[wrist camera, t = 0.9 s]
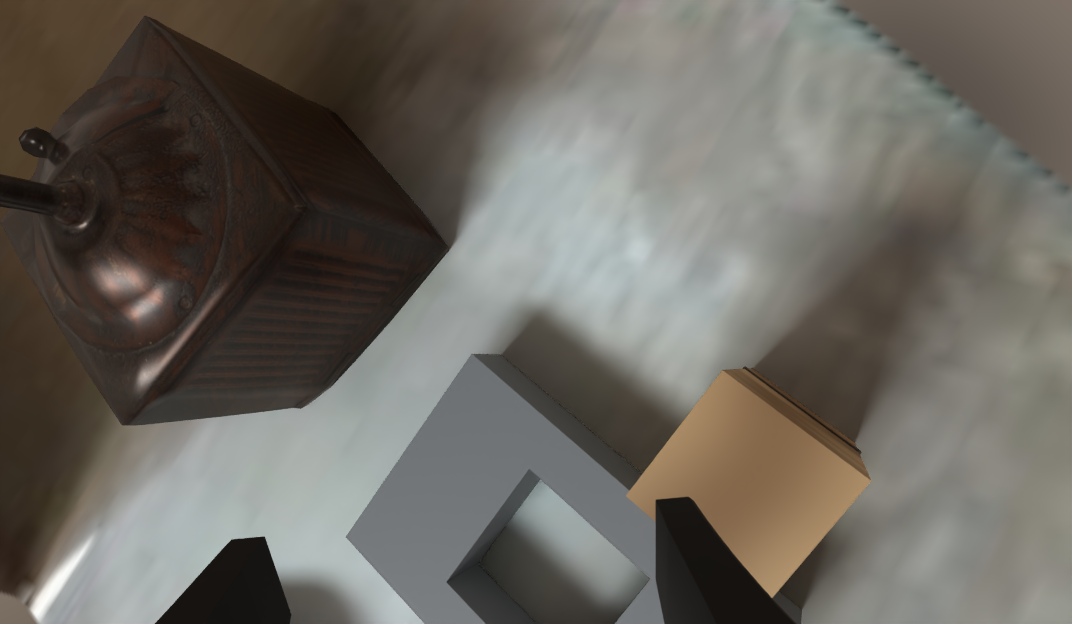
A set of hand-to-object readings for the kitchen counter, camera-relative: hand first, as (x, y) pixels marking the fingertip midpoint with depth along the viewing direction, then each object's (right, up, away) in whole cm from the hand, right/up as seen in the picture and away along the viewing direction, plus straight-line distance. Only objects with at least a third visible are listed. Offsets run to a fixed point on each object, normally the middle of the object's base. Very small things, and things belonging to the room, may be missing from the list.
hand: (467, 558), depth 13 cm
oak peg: (+9, 0, +11) cm, 14 cm away
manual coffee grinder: (-11, +6, +20) cm, 23 cm away
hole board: (+2, -5, +13) cm, 14 cm away
